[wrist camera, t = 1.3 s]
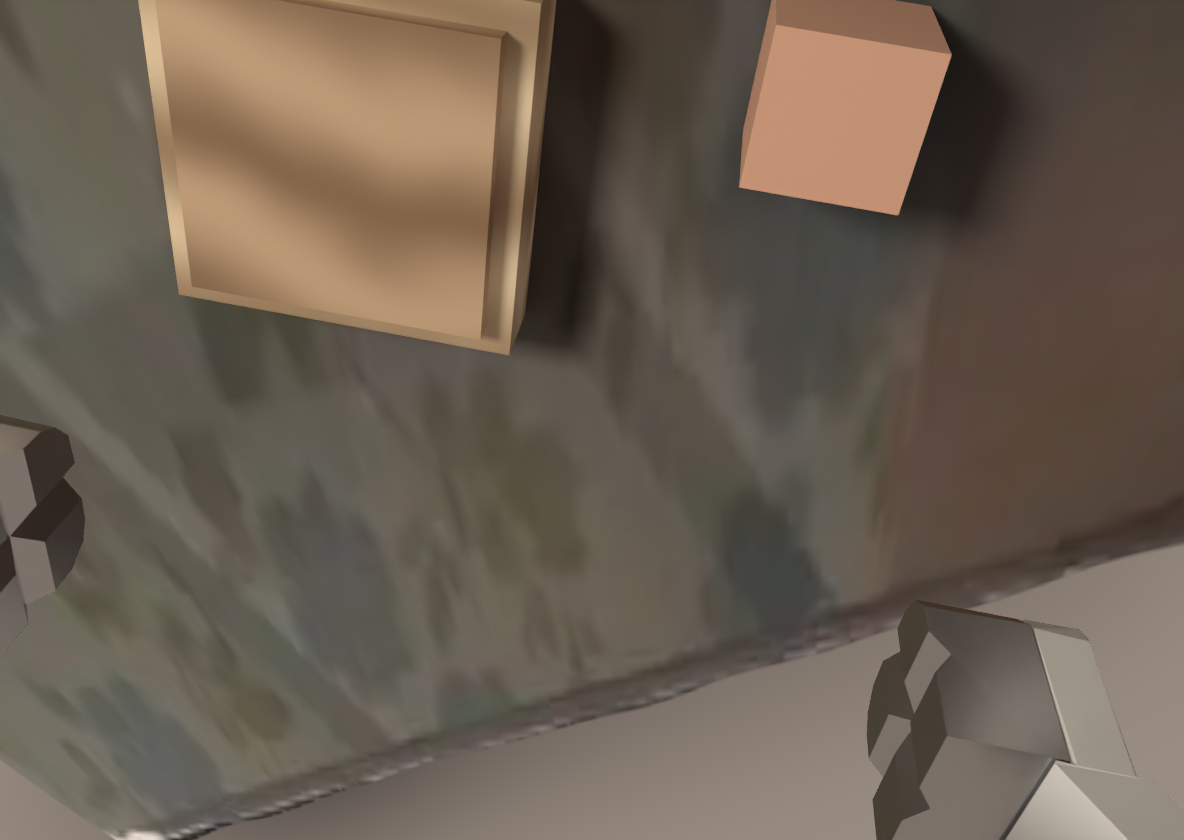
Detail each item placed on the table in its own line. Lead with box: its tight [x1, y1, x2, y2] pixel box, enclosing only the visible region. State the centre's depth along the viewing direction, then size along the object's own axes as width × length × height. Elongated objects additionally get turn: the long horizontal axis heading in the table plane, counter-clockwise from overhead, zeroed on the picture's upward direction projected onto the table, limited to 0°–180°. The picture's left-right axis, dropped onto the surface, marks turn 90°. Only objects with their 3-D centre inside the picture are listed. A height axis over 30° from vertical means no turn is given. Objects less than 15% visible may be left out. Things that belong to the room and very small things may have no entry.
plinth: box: [138, 0, 556, 355], centre depth 37 cm, size 13×13×4 cm
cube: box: [739, 0, 952, 215], centre depth 33 cm, size 5×5×5 cm
